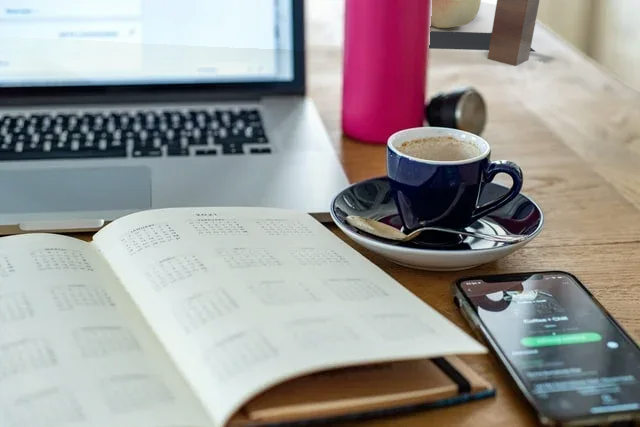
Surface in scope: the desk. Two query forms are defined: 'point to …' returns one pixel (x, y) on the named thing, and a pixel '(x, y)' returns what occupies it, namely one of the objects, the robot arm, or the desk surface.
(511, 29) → the shelf stand
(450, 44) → the mat
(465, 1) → the apple
